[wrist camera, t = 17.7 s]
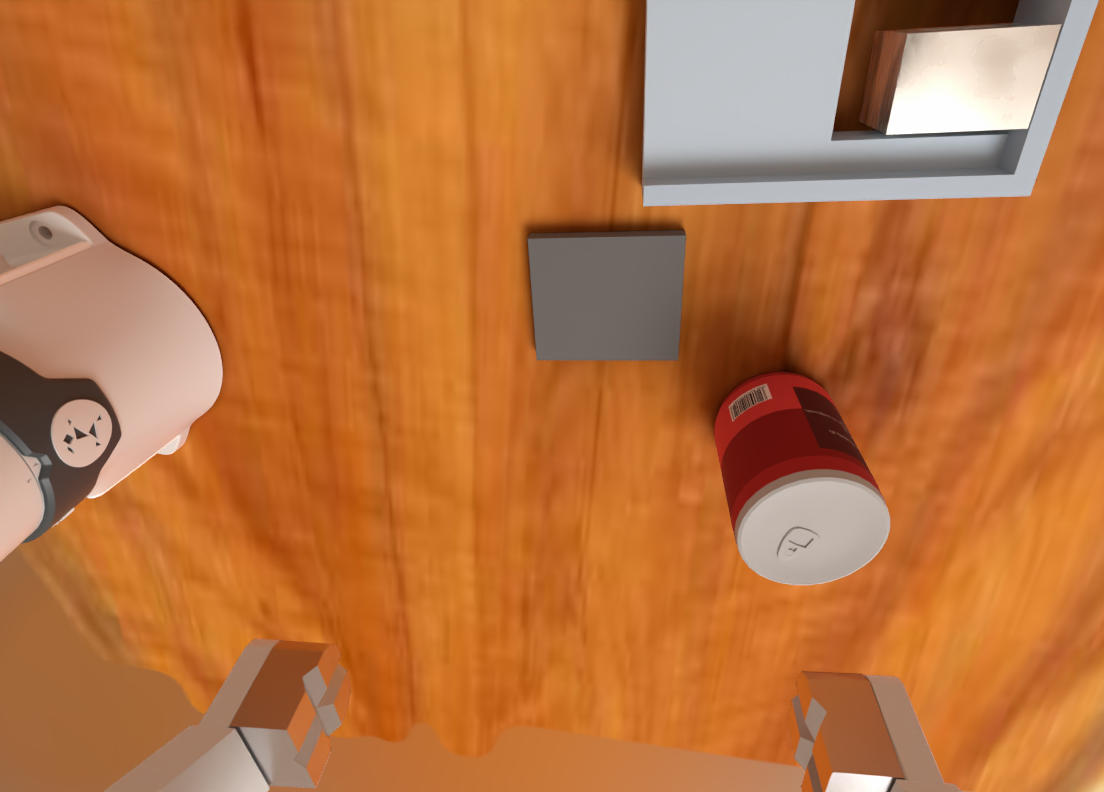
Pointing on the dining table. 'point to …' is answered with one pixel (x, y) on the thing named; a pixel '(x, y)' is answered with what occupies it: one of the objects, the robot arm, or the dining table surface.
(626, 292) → the pad
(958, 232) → the dining table surface
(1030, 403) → the dining table surface
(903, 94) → the white boxy piece
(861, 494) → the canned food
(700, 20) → the grey slotted tray
